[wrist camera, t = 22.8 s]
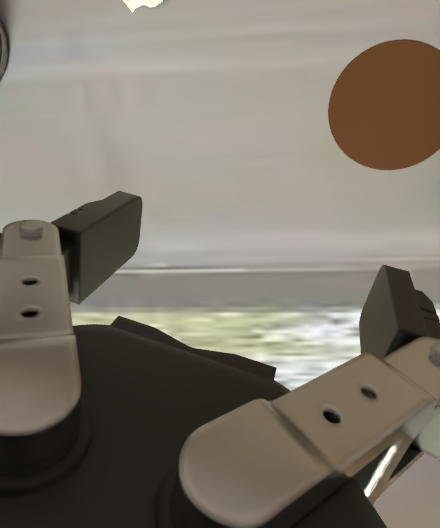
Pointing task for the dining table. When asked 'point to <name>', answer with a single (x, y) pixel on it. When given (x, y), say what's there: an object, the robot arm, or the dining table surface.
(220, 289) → the dining table surface
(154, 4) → the shaker set
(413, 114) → the brown round coaster
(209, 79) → the dining table surface
